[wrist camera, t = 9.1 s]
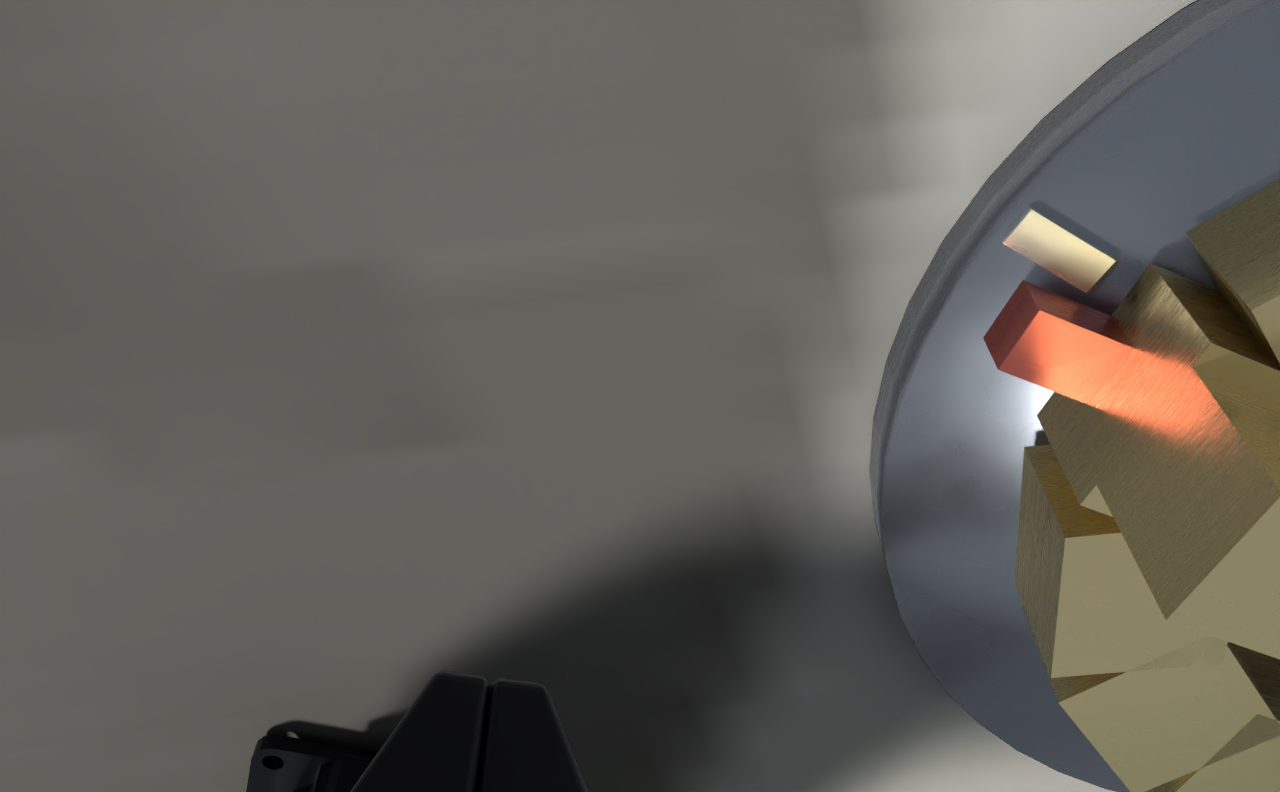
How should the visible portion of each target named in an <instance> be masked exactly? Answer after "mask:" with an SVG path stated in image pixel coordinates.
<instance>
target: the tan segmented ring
mask: <svg viewBox="0 0 1280 792" xmlns="http://www.w3.org/2000/svg"><path fill="white" fill-rule="evenodd" d="M1185 233H1186V235H1187V236H1188V238H1189V240H1190V242H1191V244H1192V246H1193V247H1194V249H1195V251H1196V253H1197V255H1198V256H1199V258H1200V260H1201V262H1202V264H1203V266H1204V267H1205V269H1206V271H1207V273H1208V275H1209V277H1210V278H1211V280H1212V282H1213V284H1214V286H1215V288H1216V289H1217V291H1216V290H1214V289H1211V288H1209V287H1207V286H1204V285H1202V284H1200V283H1197V282H1195V281H1193V280H1190V279H1188V278H1185V277H1183V276H1181V275H1178V274H1176V273H1174V272H1171V271H1169V270H1167V269H1164V268H1162V267H1159V266H1157V265H1155V264H1152V263H1150V264H1149V265H1148V267H1147V268H1146V269H1145V271H1144V272H1143V273H1142V275H1141V276H1140V278H1139V279H1138V280H1137V282H1136V283H1135V284H1134V286H1133V287H1132V288H1131V290H1130V291H1129V292H1128V294H1127V295H1126V296H1125V298H1124V299H1123V300H1122V302H1121V303H1120V304H1119V306H1118V307H1117V308H1116V310H1115V311H1114V312H1113V314H1112V315H1111V316H1110V315H1108V314H1105V313H1103V312H1100V311H1098V310H1095V309H1093V308H1091V307H1088V306H1086V305H1083V304H1081V303H1078V302H1076V301H1073V300H1071V299H1068V298H1066V297H1064V296H1061V295H1059V294H1056V293H1054V292H1051V291H1049V290H1046V289H1044V288H1041V287H1039V286H1037V285H1034V284H1032V283H1029V282H1027V281H1024V280H1022V282H1021V283H1020V284H1019V286H1018V287H1017V289H1016V290H1015V292H1014V293H1013V295H1012V296H1011V298H1010V299H1009V300H1008V302H1007V303H1006V305H1005V306H1004V308H1003V309H1002V311H1001V312H1000V314H999V315H998V317H997V318H996V319H995V321H994V322H993V324H992V325H991V327H990V328H989V330H988V331H987V333H986V334H985V336H984V337H983V339H984V341H985V343H986V345H987V347H988V350H989V352H990V354H991V356H992V358H993V360H994V363H995V365H996V367H997V369H998V370H1000V371H1002V372H1005V373H1007V374H1010V375H1013V376H1015V377H1018V378H1020V379H1023V380H1026V381H1028V382H1031V383H1033V384H1036V385H1039V386H1041V387H1044V388H1046V389H1049V390H1052V391H1054V393H1053V394H1052V396H1051V397H1050V398H1049V400H1048V401H1047V402H1046V404H1045V405H1044V406H1043V408H1042V409H1041V410H1040V412H1039V413H1038V414H1037V417H1038V419H1039V421H1040V423H1041V425H1042V428H1043V430H1044V432H1045V434H1046V436H1047V438H1048V440H1049V442H1050V444H1047V445H1037V446H1027V447H1024V456H1023V470H1022V483H1021V497H1020V511H1019V524H1018V538H1017V552H1016V565H1015V579H1014V582H1015V585H1016V587H1017V590H1018V593H1019V595H1020V598H1021V601H1022V603H1023V605H1022V608H1023V611H1024V613H1025V616H1026V619H1027V621H1028V624H1029V627H1030V629H1031V632H1032V634H1033V637H1034V640H1035V642H1036V645H1037V648H1038V650H1039V653H1040V656H1041V658H1042V661H1043V663H1044V666H1045V669H1046V671H1047V674H1048V677H1049V679H1050V682H1051V685H1052V687H1053V690H1054V693H1055V695H1056V698H1057V700H1058V703H1059V704H1060V705H1061V707H1062V708H1063V709H1064V710H1065V712H1066V713H1067V714H1068V715H1069V717H1070V718H1071V719H1072V720H1073V721H1074V723H1075V724H1076V725H1077V726H1078V728H1079V729H1080V730H1081V731H1082V733H1083V734H1084V735H1085V736H1086V738H1087V739H1088V740H1089V741H1090V742H1091V744H1092V745H1093V746H1094V747H1095V749H1096V750H1097V751H1098V752H1099V754H1100V755H1101V756H1102V757H1103V759H1104V760H1105V761H1106V762H1107V763H1108V765H1109V766H1110V767H1111V768H1112V770H1113V771H1114V772H1115V773H1116V775H1117V776H1118V777H1119V778H1120V780H1121V781H1122V782H1123V783H1124V784H1125V786H1126V787H1127V788H1128V789H1129V791H1130V792H1145V791H1149V792H1280V179H1278V180H1276V181H1274V182H1273V183H1271V184H1269V185H1267V186H1266V187H1264V188H1262V189H1260V190H1259V191H1257V192H1255V193H1253V194H1252V195H1250V196H1248V197H1246V198H1245V199H1243V200H1241V201H1239V202H1238V203H1236V204H1234V205H1232V206H1231V207H1229V208H1227V209H1225V210H1224V211H1222V212H1220V213H1218V214H1217V215H1215V216H1213V217H1211V218H1210V219H1208V220H1206V221H1204V222H1203V223H1201V224H1199V225H1197V226H1196V227H1194V228H1192V229H1190V230H1189V231H1187V232H1185Z"/></svg>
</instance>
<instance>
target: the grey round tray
mask: <svg viewBox="0 0 1280 792" xmlns="http://www.w3.org/2000/svg"><path fill="white" fill-rule="evenodd" d="M1278 179H1280V0H1198V1H1197V2H1195V3H1193V4H1191V5H1189V6H1188V7H1186V8H1184V9H1182V10H1181V11H1179V12H1178V13H1176V14H1175V15H1173V16H1172V17H1171V18H1169V19H1168V20H1166V21H1165V22H1164V23H1162V24H1161V25H1159V26H1158V27H1157V28H1155V29H1154V30H1152V31H1151V32H1149V33H1148V34H1147V35H1145V36H1144V37H1142V38H1141V39H1140V40H1138V41H1137V42H1135V43H1134V44H1133V45H1131V46H1130V47H1128V48H1127V49H1125V50H1124V51H1123V52H1121V53H1120V54H1118V55H1117V56H1116V57H1114V58H1113V59H1111V60H1110V61H1109V62H1107V63H1106V64H1105V65H1104V66H1102V67H1101V68H1100V69H1099V70H1098V71H1097V72H1096V73H1094V74H1093V75H1092V76H1091V77H1090V78H1089V79H1088V80H1087V81H1085V82H1084V83H1083V84H1082V85H1081V86H1080V87H1079V88H1077V89H1076V90H1075V91H1074V92H1073V93H1072V94H1071V95H1069V96H1068V97H1067V98H1066V99H1065V100H1064V101H1063V102H1062V103H1060V104H1059V105H1058V106H1057V107H1056V108H1055V109H1054V110H1052V111H1051V112H1050V113H1049V114H1048V115H1047V116H1046V117H1045V118H1043V119H1042V120H1041V121H1040V122H1039V123H1038V124H1037V126H1036V127H1035V128H1034V129H1033V130H1032V131H1031V132H1030V133H1029V134H1028V135H1027V137H1026V138H1025V139H1024V140H1023V141H1022V142H1021V143H1020V144H1019V145H1018V146H1017V147H1016V149H1015V150H1014V151H1013V152H1012V153H1011V154H1010V155H1009V156H1008V157H1007V158H1006V160H1005V161H1004V162H1003V163H1002V164H1001V165H1000V166H999V167H998V168H997V169H996V170H995V172H994V173H993V174H992V175H991V176H990V177H989V178H988V179H987V180H986V182H985V183H984V185H983V186H982V187H981V189H980V190H979V191H978V193H977V194H976V196H975V197H974V198H973V200H972V201H971V203H970V204H969V205H968V207H967V208H966V209H965V211H964V212H963V214H962V215H961V216H960V218H959V219H958V221H957V222H956V223H955V225H954V226H953V227H952V229H951V230H950V232H949V233H948V234H947V236H946V237H945V239H944V240H943V241H942V243H941V245H940V247H939V249H938V250H937V252H936V254H935V256H934V258H933V260H932V261H931V263H930V265H929V267H928V269H927V270H926V272H925V274H924V276H923V278H922V280H921V281H920V283H919V285H918V287H917V289H916V290H915V292H914V294H913V296H912V298H911V300H910V301H909V304H908V306H907V309H906V311H905V314H904V317H903V319H902V322H901V324H900V327H899V329H898V332H897V335H896V337H895V340H894V342H893V345H892V348H891V350H890V353H889V355H888V358H887V360H886V365H885V369H884V373H883V378H882V382H881V386H880V391H879V395H878V399H877V404H876V408H875V412H874V417H873V430H872V444H871V459H870V479H871V489H872V499H873V509H874V520H875V524H876V527H877V531H878V535H879V539H880V543H881V547H882V551H883V555H884V559H885V562H886V566H887V570H888V574H889V577H890V581H891V584H892V588H893V592H894V595H895V599H896V602H897V606H898V610H899V613H900V616H901V618H902V620H903V622H904V624H905V626H906V628H907V630H908V632H909V634H910V636H911V638H912V640H913V642H914V644H915V646H916V648H917V651H918V653H919V655H920V656H921V658H922V659H923V660H924V662H925V663H926V665H927V666H928V667H929V669H930V670H931V671H932V673H933V674H934V675H935V677H936V678H937V680H938V681H939V682H940V684H941V685H942V686H943V688H944V689H945V690H946V692H947V693H948V694H949V695H950V696H951V697H952V698H953V699H954V700H955V701H956V702H957V703H958V704H960V705H961V706H962V707H963V708H964V709H965V710H966V711H967V712H968V713H969V714H970V715H971V716H972V717H973V718H974V719H975V720H976V721H977V722H978V723H979V724H981V725H982V726H983V727H985V728H986V729H988V730H989V731H990V732H992V733H993V734H995V735H996V736H997V737H999V738H1000V739H1002V740H1003V741H1005V742H1006V743H1007V744H1009V745H1010V746H1012V747H1013V748H1014V749H1016V750H1018V751H1019V752H1021V753H1023V754H1025V755H1027V756H1029V757H1031V758H1033V759H1035V760H1037V761H1039V762H1041V763H1043V764H1045V765H1047V766H1048V767H1050V768H1052V769H1054V770H1056V771H1058V772H1061V773H1063V774H1066V775H1069V776H1072V777H1074V778H1077V779H1080V780H1083V781H1085V782H1088V783H1091V784H1093V785H1096V786H1099V787H1102V788H1104V789H1108V790H1113V791H1117V792H1130V791H1129V789H1128V788H1127V787H1126V786H1125V784H1124V783H1123V782H1122V781H1121V780H1120V778H1119V777H1118V776H1117V775H1116V773H1115V772H1114V771H1113V770H1112V768H1111V767H1110V766H1109V765H1108V763H1107V762H1106V761H1105V760H1104V759H1103V757H1102V756H1101V755H1100V754H1099V752H1098V751H1097V750H1096V749H1095V747H1094V746H1093V745H1092V744H1091V742H1090V741H1089V740H1088V739H1087V738H1086V736H1085V735H1084V734H1083V733H1082V731H1081V730H1080V729H1079V728H1078V726H1077V725H1076V724H1075V723H1074V721H1073V720H1072V719H1071V718H1070V717H1069V715H1068V714H1067V713H1066V712H1065V710H1064V709H1063V708H1062V707H1061V705H1060V704H1059V703H1058V700H1057V698H1056V695H1055V693H1054V690H1053V687H1052V685H1051V682H1050V679H1049V677H1048V674H1047V671H1046V669H1045V666H1044V663H1043V661H1042V658H1041V656H1040V653H1039V650H1038V648H1037V645H1036V642H1035V640H1034V637H1033V634H1032V632H1031V629H1030V627H1029V624H1028V621H1027V619H1026V616H1025V613H1024V611H1023V608H1022V605H1023V603H1022V601H1021V598H1020V595H1019V593H1018V590H1017V587H1016V585H1015V582H1014V579H1015V565H1016V552H1017V538H1018V524H1019V511H1020V497H1021V483H1022V470H1023V456H1024V447H1027V446H1037V445H1047V444H1050V442H1049V440H1048V438H1047V436H1046V434H1045V432H1044V430H1043V428H1042V425H1041V423H1040V421H1039V419H1038V417H1037V414H1038V413H1039V412H1040V410H1041V409H1042V408H1043V406H1044V405H1045V404H1046V402H1047V401H1048V400H1049V398H1050V397H1051V396H1052V394H1053V393H1054V391H1052V390H1049V389H1046V388H1044V387H1041V386H1039V385H1036V384H1033V383H1031V382H1028V381H1026V380H1023V379H1020V378H1018V377H1015V376H1013V375H1010V374H1007V373H1005V372H1002V371H1000V370H998V369H997V367H996V365H995V363H994V360H993V358H992V356H991V354H990V352H989V350H988V347H987V345H986V343H985V341H984V339H983V337H984V336H985V334H986V333H987V331H988V330H989V328H990V327H991V325H992V324H993V322H994V321H995V319H996V318H997V317H998V315H999V314H1000V312H1001V311H1002V309H1003V308H1004V306H1005V305H1006V303H1007V302H1008V300H1009V299H1010V298H1011V296H1012V295H1013V293H1014V292H1015V290H1016V289H1017V287H1018V286H1019V284H1020V283H1021V282H1022V280H1024V281H1027V282H1029V283H1032V284H1034V285H1037V286H1039V287H1041V288H1044V289H1046V290H1049V291H1051V292H1054V293H1056V294H1059V295H1061V296H1064V297H1066V298H1068V299H1071V300H1073V301H1076V302H1078V303H1081V304H1083V305H1086V306H1088V307H1091V308H1093V309H1095V310H1098V311H1100V312H1103V313H1105V314H1108V315H1110V316H1111V315H1112V314H1113V312H1114V311H1115V310H1116V308H1117V307H1118V306H1119V304H1120V303H1121V302H1122V300H1123V299H1124V298H1125V296H1126V295H1127V294H1128V292H1129V291H1130V290H1131V288H1132V287H1133V286H1134V284H1135V283H1136V282H1137V280H1138V279H1139V278H1140V276H1141V275H1142V273H1143V272H1144V271H1145V269H1146V268H1147V267H1148V265H1149V264H1150V263H1152V264H1155V265H1157V266H1159V267H1162V268H1164V269H1167V270H1169V271H1171V272H1174V273H1176V274H1178V275H1181V276H1183V277H1185V278H1188V279H1190V280H1193V281H1195V282H1197V283H1200V284H1202V285H1204V286H1207V287H1209V288H1211V289H1214V290H1216V291H1217V289H1216V288H1215V286H1214V284H1213V282H1212V280H1211V278H1210V277H1209V275H1208V273H1207V271H1206V269H1205V267H1204V266H1203V264H1202V262H1201V260H1200V258H1199V256H1198V255H1197V253H1196V251H1195V249H1194V247H1193V246H1192V244H1191V242H1190V240H1189V238H1188V236H1187V235H1186V233H1185V232H1187V231H1189V230H1190V229H1192V228H1194V227H1196V226H1197V225H1199V224H1201V223H1203V222H1204V221H1206V220H1208V219H1210V218H1211V217H1213V216H1215V215H1217V214H1218V213H1220V212H1222V211H1224V210H1225V209H1227V208H1229V207H1231V206H1232V205H1234V204H1236V203H1238V202H1239V201H1241V200H1243V199H1245V198H1246V197H1248V196H1250V195H1252V194H1253V193H1255V192H1257V191H1259V190H1260V189H1262V188H1264V187H1266V186H1267V185H1269V184H1271V183H1273V182H1274V181H1276V180H1278ZM1145 792H1149V791H1145Z"/></svg>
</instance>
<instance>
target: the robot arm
mask: <svg viewBox="0 0 1280 792" xmlns="http://www.w3.org/2000/svg"><path fill="white" fill-rule="evenodd" d="M489 688H490V690H489ZM246 792H588V791H587V789H586V786H585V784H584V781H583V778H582V776H581V773H580V771H579V768H578V766H577V763H576V760H575V758H574V755H573V753H572V750H571V748H570V745H569V743H568V740H567V737H566V735H565V732H564V730H563V727H562V725H561V722H560V719H559V717H558V714H557V712H556V709H555V707H554V704H553V702H552V699H551V696H550V694H549V692H548V691H547V689H546V688H545V687H544V686H543V685H542V684H539V683H535V682H527V681H519V680H511V679H504V678H500V679H497V680H494V682H493V683H492V684H491V686H490V687H489V682H488V680H487V679H486V678H485V677H483V676H480V675H472V674H464V673H457V672H449V671H440V672H438V673H436V674H435V675H434V676H433V677H432V678H431V679H430V680H429V682H428V683H427V684H426V686H425V687H424V689H423V690H422V691H421V693H420V694H419V696H418V697H417V698H416V700H415V701H414V703H413V704H412V706H411V707H410V708H409V710H408V711H407V713H406V714H405V715H404V717H403V718H402V720H401V721H400V722H399V724H398V725H397V727H396V728H395V729H394V731H393V732H392V734H391V735H390V736H389V738H388V739H387V741H386V742H385V744H384V745H383V746H382V748H381V749H380V751H379V752H378V753H376V752H370V751H365V750H359V749H353V748H348V747H342V746H336V745H331V744H325V743H320V742H314V741H308V740H303V739H297V738H292V737H286V736H280V735H269V736H265V737H263V738H261V739H260V740H258V742H257V744H256V747H255V750H254V753H253V756H252V759H251V766H250V772H249V778H248V785H247V791H246Z"/></svg>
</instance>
